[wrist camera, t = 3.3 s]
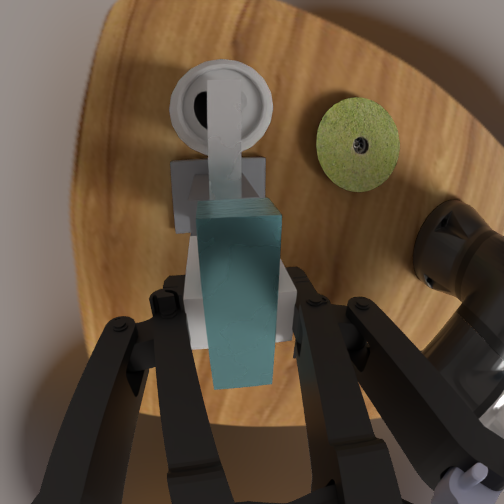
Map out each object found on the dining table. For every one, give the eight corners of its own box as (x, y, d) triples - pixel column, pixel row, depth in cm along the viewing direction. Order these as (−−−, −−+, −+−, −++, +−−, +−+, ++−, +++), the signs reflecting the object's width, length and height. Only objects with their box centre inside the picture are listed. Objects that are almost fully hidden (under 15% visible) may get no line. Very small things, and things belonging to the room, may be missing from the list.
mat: (290, 140, 30) (295, 141, 29) (354, 80, 28) (362, 78, 26) (350, 206, 35) (357, 211, 33) (405, 148, 32) (413, 150, 31)
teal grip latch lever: (253, 83, 17) (299, 47, 8) (253, 285, 23) (281, 382, 14) (191, 84, 16) (175, 45, 7) (202, 289, 22) (204, 390, 14)
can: (172, 93, 26) (151, 76, 16) (239, 71, 26) (259, 41, 16) (195, 156, 30) (187, 175, 19) (261, 133, 30) (291, 140, 19)
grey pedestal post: (263, 156, 31) (294, 176, 20) (262, 225, 34) (289, 275, 23) (171, 160, 29) (151, 182, 19) (176, 229, 33) (164, 283, 22)
